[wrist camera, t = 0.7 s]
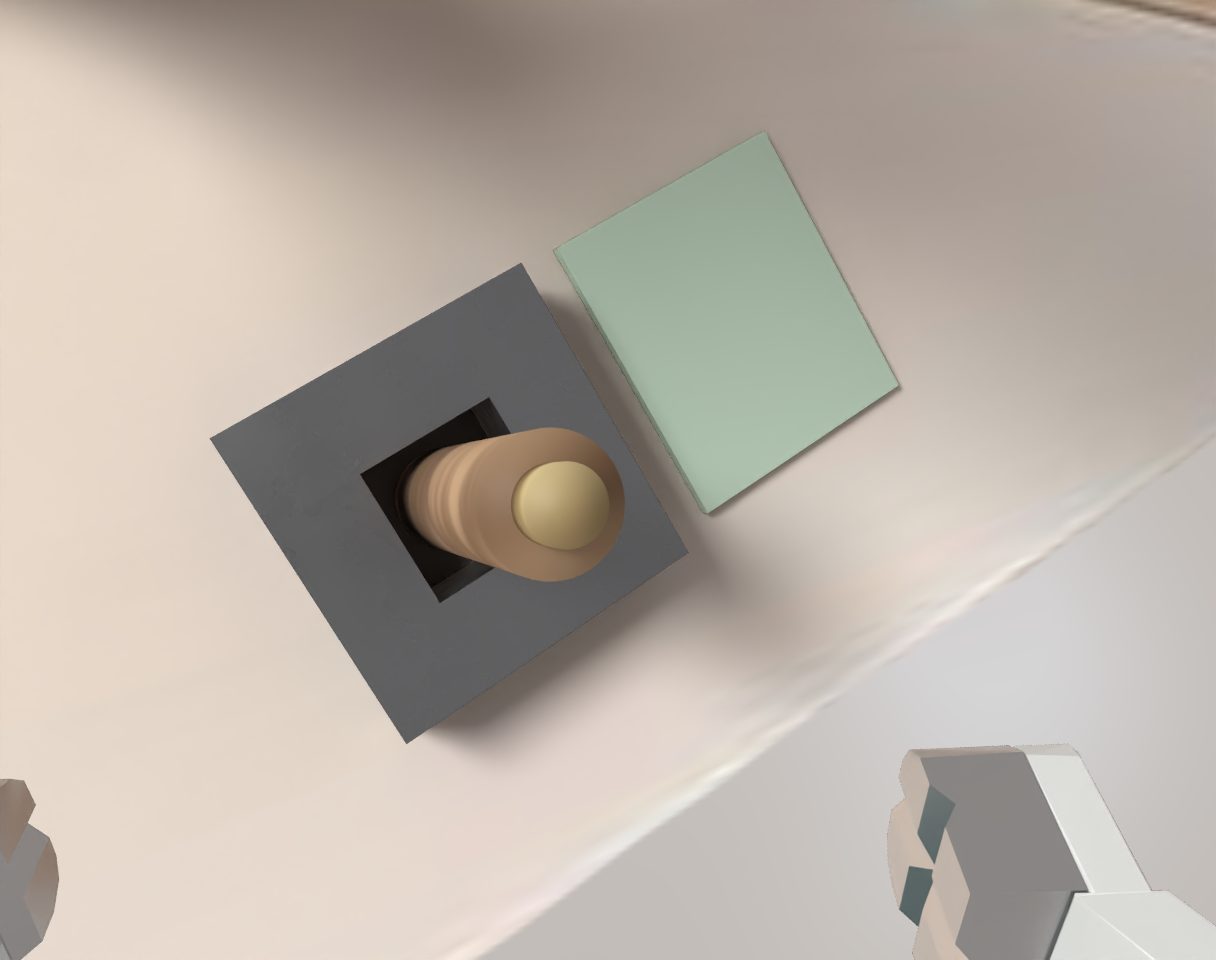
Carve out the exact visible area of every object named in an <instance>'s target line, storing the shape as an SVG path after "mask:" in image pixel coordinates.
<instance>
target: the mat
mask: <svg viewBox="0 0 1216 960" xmlns="http://www.w3.org/2000/svg"><path fill="white" fill-rule="evenodd" d="M553 251H554V253H555V254H556V256H557V258H558V260H559V261H560V263H561V265H562V267H563V268H564V270H565V272H566V274H567V275H568V277H569V279H570V281H571V282H572V284H573V286H574V288H575V289H576V291H577V293H578V295H579V296H580V298H581V300H582V302H583V303H584V305H585V307H586V309H587V310H588V312H589V314H590V316H591V317H592V319H593V321H594V323H595V324H596V326H597V328H598V330H599V332H600V333H601V335H602V337H603V339H604V340H605V342H606V344H607V346H608V347H609V349H610V351H611V353H612V354H613V356H614V358H615V360H616V361H617V363H618V365H619V367H620V368H621V370H622V372H623V374H624V375H625V377H626V379H627V381H628V382H629V384H630V386H631V388H632V389H633V391H634V393H635V395H636V396H637V398H638V400H639V402H640V403H641V405H642V407H643V409H644V410H645V412H646V414H647V416H648V417H649V419H650V421H651V423H652V424H653V426H654V428H655V430H656V431H657V433H658V435H659V437H660V438H661V440H662V442H663V444H664V445H665V447H666V449H667V451H668V452H669V454H670V456H671V458H672V459H673V461H674V463H675V465H676V466H677V468H678V470H679V472H680V473H681V475H682V477H683V479H684V480H685V482H686V484H687V486H688V487H689V489H690V491H691V493H692V494H693V496H694V498H695V500H696V502H697V503H698V505H699V507H700V509H701V510H702V512H703V513H709V512H711V511H712V510H714V509H715V508H717V507H718V506H720V505H721V504H723V503H724V502H726V501H727V500H729V499H730V498H732V497H733V496H735V495H736V494H738V493H739V492H741V491H742V490H744V489H745V488H747V487H748V486H750V485H751V484H752V483H754V482H755V481H757V480H758V479H760V478H761V477H763V476H764V475H766V474H767V473H769V472H770V471H772V470H773V469H775V468H776V467H778V466H779V465H781V464H782V463H784V462H785V461H787V460H788V459H790V458H791V457H793V456H794V455H796V454H797V453H799V452H800V451H802V450H803V449H805V448H806V447H808V446H809V445H811V444H812V443H814V442H815V441H817V440H818V439H820V438H821V437H822V436H824V435H825V434H827V433H828V432H830V431H831V430H833V429H834V428H836V427H837V426H839V425H840V424H842V423H843V422H845V421H846V420H848V419H849V418H851V417H852V416H854V415H855V414H857V413H858V412H860V411H861V410H863V409H864V408H866V407H867V406H869V405H870V404H872V403H873V402H875V401H876V400H878V399H879V398H881V397H882V396H884V395H885V394H887V393H888V392H889V391H891V390H892V389H894V388H895V387H897V386H898V383H897V381H896V379H895V377H894V375H893V373H892V371H891V369H890V367H889V366H888V364H887V362H886V360H885V358H884V356H883V354H882V352H881V350H880V348H879V347H878V345H877V343H876V341H875V339H874V337H873V335H872V333H871V331H870V330H869V328H868V326H867V324H866V322H865V320H864V318H863V316H862V314H861V312H860V311H859V309H858V307H857V305H856V303H855V301H854V299H853V297H852V295H851V293H850V292H849V290H848V288H847V286H846V284H845V282H844V280H843V278H842V276H841V275H840V273H839V271H838V269H837V267H836V265H835V263H834V261H833V259H832V257H831V256H830V254H829V252H828V250H827V248H826V246H825V244H824V242H823V240H822V239H821V237H820V235H819V233H818V231H817V229H816V227H815V225H814V223H813V221H812V220H811V218H810V216H809V214H808V212H807V210H806V208H805V206H804V204H803V202H802V201H801V199H800V197H799V195H798V193H797V191H796V189H795V187H794V185H793V184H792V182H791V180H790V178H789V176H788V174H787V172H786V170H785V168H784V166H783V165H782V163H781V161H780V159H779V157H778V155H777V153H776V151H775V149H774V148H773V146H772V144H771V142H770V140H769V138H768V136H767V134H766V132H765V130H764V131H762V132H761V133H759V134H757V135H755V136H754V137H752V138H750V139H748V140H746V141H745V142H743V143H741V144H739V145H738V146H736V147H734V148H732V149H731V150H729V151H727V152H725V153H723V154H722V155H720V156H718V157H716V158H715V159H713V160H711V161H709V162H708V163H706V164H704V165H702V166H701V167H699V168H697V169H695V170H693V171H692V172H690V173H688V174H686V175H685V176H683V177H681V178H679V179H678V180H676V181H674V182H672V183H670V184H669V185H667V186H665V187H663V188H662V189H660V190H658V191H656V192H655V193H653V194H651V195H649V196H648V197H646V198H644V199H642V200H640V201H639V202H637V203H635V204H633V205H632V206H630V207H628V208H626V209H625V210H623V211H621V212H619V213H617V214H616V215H614V216H612V217H610V218H609V219H607V220H605V221H603V222H602V223H600V224H598V225H596V226H595V227H593V228H591V229H589V230H587V231H586V232H584V233H582V234H580V235H579V236H577V237H575V238H573V239H572V240H570V241H568V242H566V243H564V244H563V245H561V246H559V247H557V248H556V249H555V250H553Z"/></svg>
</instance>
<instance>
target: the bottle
mask: <svg viewBox="0 0 1216 960" xmlns="http://www.w3.org/2000/svg"><path fill="white" fill-rule="evenodd" d="M395 502H396V509H397V513H398V516H399V518H400V520H401V522H402V524H403V526H404V527H405V529H406V530H407V531H408V532H409V533H410V534H411V535H412V536H413V537H414V538H415V539H417V540H418V541H420V542H422V543H424V544H426V545H429V546H432V547H435V548H438V549H441V550H444V551H447V552H450V553H453V554H456V555H459V556H462V557H465V558H468V559H471V560H474V561H477V562H480V563H483V564H486V565H489V566H492V567H495V568H498V569H501V570H505V571H508V572H511V573H514V574H517V575H520V576H523V577H526V578H529V579H533V580H538V581H544V582H555V581H563V580H567V579H571V578H574V577H577V576H579V575H582V574H583V573H585V572H587V571H589V570H590V569H592V568H593V567H594V566H596V565H597V564H598V563H599V562H600V561H601V560H602V559H603V558H604V557H605V556H606V555H607V554H608V553H609V551H610V550H611V549H612V547H613V545H614V544H615V542H616V540H617V538H618V536H619V533H620V531H621V527H622V524H623V519H624V513H625V496H624V489H623V484H622V481H621V478H620V475H619V473H618V471H617V469H616V467H615V465H614V463H613V462H612V460H611V459H610V457H609V456H608V455H607V454H606V452H605V451H604V450H603V449H602V448H601V447H600V446H599V445H597V444H596V443H595V442H594V441H592V440H591V439H589V438H588V437H586V436H584V435H582V434H580V433H577V432H574V431H571V430H568V429H562V428H551V427H549V428H539V429H534V430H529V431H524V432H519V433H514V434H509V435H504V436H499V437H494V438H489V439H484V440H479V441H474V442H469V443H464V444H459V445H454V446H449V447H444V448H439V449H434V450H430V451H428V452H425V453H423V454H421V455H419V456H418V457H416V458H415V459H414V460H413V461H412V462H410V463H409V464H408V466H407V467H406V468H405V469H404V471H403V473H402V474H401V476H400V478H399V481H398V484H397V488H396V495H395Z"/></svg>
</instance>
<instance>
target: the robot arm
mask: <svg viewBox="0 0 1216 960" xmlns="http://www.w3.org/2000/svg"><path fill="white" fill-rule="evenodd" d="M899 780H900V783H901V786H902V789H903V792H904V795H905V799H903V800H902V801H901V802H900V803H899V804H898V805H896V806H895V807H894V808H893V809H892V810H891V816H890V821H889V827H888V833H887V840H888V864H889V870H890V875H891V881H892V886H893V890H894V893H895V897H896V900H897V903H898V907H899V910H900V911H901V912H903V913H904V914H905V915H906V916H907V917H908V918H909V919H910V920H911V921H912V922H914V923H915V924H916V925H917V926H918V931H917V935H916V939H915V943H914V948H913V952H912V954H913V957H914V960H1216V925H1214V924H1213V923H1211V922H1210V921H1209V920H1207V919H1206V918H1205V917H1203V916H1202V915H1201V914H1199V913H1198V912H1197V911H1195V910H1194V909H1193V908H1191V907H1190V906H1189V905H1187V904H1186V903H1185V902H1183V901H1182V900H1180V899H1179V898H1178V897H1177V896H1175V895H1174V894H1172V893H1171V892H1170V891H1168V890H1152V889H1151V888H1150V886H1149V884H1148V882H1147V880H1146V879H1145V876H1144V875H1143V873H1142V871H1141V869H1140V867H1139V865H1138V863H1137V862H1136V860H1135V858H1134V856H1133V854H1132V852H1131V850H1130V848H1129V846H1128V845H1127V843H1126V841H1125V839H1124V837H1123V835H1122V834H1121V831H1120V830H1119V828H1118V826H1117V824H1116V822H1115V820H1114V818H1113V817H1112V815H1111V813H1110V811H1109V809H1108V807H1107V805H1106V804H1105V802H1104V800H1103V798H1102V796H1101V794H1100V792H1099V790H1098V788H1097V787H1096V785H1095V783H1094V781H1093V779H1092V777H1091V775H1090V774H1089V772H1088V770H1087V768H1086V766H1085V764H1084V762H1083V760H1082V759H1081V757H1080V755H1079V753H1078V752H1077V751H1076V750H1075V749H1074V748H1072V747H1071V746H1070V745H1069V744H1053V745H1052V744H1051V745H1025V746H1024V745H1023V746H1014V747H1011V746H1009V745H1006V746H984V747H963V748H962V747H960V748H937V749H913V750H909V751H908V753H907V754H906V755H905V757H904V758H903V761H902V765H901V769H900V774H899ZM35 806H36V804H35V802H34V800H33V798H32V796H31V794H30V792H29V790H28V788H27V786H26V784H25V782H24V781H23V780H14V779H0V960H21V959H22V958H23V957H24V956H26V955H27V954H28V953H29V952H30V951H31V950H33V949H34V948H35V947H36V946H37V945H38V944H40V943H41V942H42V941H43V938H44V936H45V933H46V930H47V928H48V925H49V923H50V920H51V918H52V915H53V913H54V908H55V901H56V895H57V888H58V882H59V875H58V866H57V857H56V853H55V851H54V848H53V846H52V843H51V841H50V838H49V837H48V836H46V835H45V834H43V833H42V832H40V831H39V830H37V829H36V828H34V827H33V826H31V825H30V824H28V820H29V818H30V816H31V814H32V812H33V810H34V808H35Z"/></svg>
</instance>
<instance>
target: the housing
mask: <svg viewBox="0 0 1216 960" xmlns="http://www.w3.org/2000/svg"><path fill="white" fill-rule="evenodd" d="M470 408H471V410H472V412H473V413H474V415H475V417H476V418H477V420H478V422H479V423H480V425H481V427H482V428H483V430H484V432H485V433H486V435H487V437H488V438H494V437H499V436H504V435H509V434H514V433H519V432H524V431H529V430H534V429H539V428H549V427H551V428H562V429H568V430H571V431H574V432H577V433H580V434H582V435H584V436H586V437H588V438H589V439H591V440H592V441H594V442H595V443H596V444H597V445H599V446H600V447H601V448H602V449H603V450H604V451H605V452H606V454H607V455H608V456H609V457H610V459H611V460H612V462H613V463H614V465H615V467H616V469H617V471H618V473H619V475H620V478H621V481H622V484H623V489H624V496H625V513H624V519H623V524H622V527H621V531H620V533H619V536H618V538H617V540H616V542H615V544H614V545H613V547H612V549H611V550H610V551H609V553H608V554H607V555H606V556H605V557H604V558H603V559H602V560H601V561H600V562H599V563H598V564H597V565H596V566H594V567H593V568H592V569H590V570H589V571H587V572H585V573H583V574H582V575H579V576H577V577H574V578H571V579H567V580H563V581H555V582H544V581H538V580H533V579H529V578H526V577H523V576H520V575H517V574H514V573H511V572H508V571H505V570H501V569H498V568H495V567H492V566H489V565H486V564H483V563H480V562H477V561H472V562H471V563H469V564H468V565H466V566H465V567H463V568H461V569H460V570H458V571H457V572H455V573H454V574H452V575H450V576H449V577H447V578H446V579H444V580H443V581H441V582H440V583H438V584H436V585H435V586H433V587H432V588H430V586H429V585H428V583H427V581H426V580H425V578H424V577H423V575H422V573H421V572H420V570H419V569H418V567H417V565H416V564H415V562H414V561H413V559H412V557H411V556H410V554H409V552H408V551H407V549H406V548H405V546H404V544H403V543H402V541H401V540H400V538H399V536H398V535H397V533H396V532H395V530H394V528H393V527H392V525H391V524H390V522H389V520H388V519H387V517H386V516H385V514H384V512H383V511H382V509H381V508H380V506H379V504H378V503H377V501H376V500H375V498H374V496H373V495H372V493H371V491H370V490H369V488H368V487H367V485H366V483H365V482H364V480H363V479H362V477H361V475H360V474H361V473H363V472H364V471H366V470H368V469H369V468H371V467H373V466H374V465H376V464H378V463H379V462H381V461H383V460H384V459H386V458H388V457H390V456H391V455H393V454H395V453H396V452H398V451H400V450H401V449H403V448H405V447H406V446H408V445H410V444H411V443H413V442H415V441H416V440H418V439H420V438H421V437H423V436H425V435H426V434H428V433H430V432H431V431H433V430H435V429H436V428H438V427H440V426H441V425H443V424H445V423H446V422H448V421H450V420H451V419H453V418H455V417H456V416H458V415H460V414H462V413H463V412H465V411H467V410H468V409H470ZM210 440H211V441H212V443H213V444H214V446H215V447H216V449H217V450H218V452H219V454H220V455H221V457H222V458H223V460H224V461H225V463H226V464H227V466H228V468H229V469H230V471H231V472H232V474H233V475H234V477H235V478H236V480H237V482H238V483H239V485H240V486H241V488H242V489H243V491H244V492H245V494H246V496H247V497H248V499H249V500H250V502H251V503H252V505H253V506H254V508H255V510H256V511H257V513H258V514H259V516H260V517H261V519H262V520H263V522H264V524H265V525H266V527H267V528H268V530H269V531H270V533H271V534H272V536H273V537H274V539H275V541H276V542H277V544H278V545H279V547H280V548H281V550H282V551H283V553H284V555H285V556H286V558H287V559H288V561H289V562H290V564H291V565H292V567H293V569H294V570H295V572H296V573H297V575H298V576H299V578H300V579H301V581H302V583H303V584H304V586H305V587H306V589H307V590H308V592H309V593H310V595H311V597H312V598H313V600H314V601H315V603H316V604H317V606H318V607H319V609H320V611H321V612H322V614H323V615H324V617H325V618H326V620H327V621H328V623H329V625H330V626H331V628H332V629H333V631H334V632H335V634H336V635H337V637H338V638H339V640H340V642H341V643H342V645H343V646H344V648H345V649H346V651H347V652H348V654H349V656H350V657H351V659H352V660H353V662H354V663H355V665H356V666H357V668H358V670H359V671H360V673H361V674H362V676H363V677H364V679H365V680H366V682H367V684H368V685H369V687H370V688H371V690H372V691H373V693H374V694H375V696H376V698H377V699H378V701H379V702H380V704H381V705H382V707H383V708H384V710H385V712H386V713H387V715H388V716H389V718H390V719H391V721H392V722H393V724H394V725H395V727H396V729H397V730H398V732H399V733H400V735H401V736H402V738H403V739H404V741H405V743H406V744H408V743H409V742H410V741H412V740H413V739H415V738H416V737H418V736H419V735H421V734H422V733H424V732H425V731H427V730H428V729H430V728H431V727H433V726H434V725H435V724H437V723H438V722H440V721H441V720H443V719H444V718H446V717H447V716H449V715H450V714H452V713H453V712H455V711H456V710H458V709H459V708H460V707H462V706H463V705H465V704H466V703H468V702H469V701H471V700H472V699H474V698H475V697H477V696H478V695H480V694H481V693H483V692H484V691H486V690H487V689H488V688H490V687H491V686H493V685H494V684H496V683H497V682H499V681H500V680H502V679H503V678H505V677H506V676H508V675H509V674H511V673H512V672H513V671H515V670H516V669H518V668H519V667H521V666H522V665H524V664H525V663H527V662H528V661H530V660H531V659H533V658H534V657H536V656H537V655H539V654H540V653H541V652H543V651H544V650H546V649H547V648H549V647H550V646H552V645H553V644H555V643H556V642H558V641H559V640H561V639H562V638H564V637H565V636H566V635H568V634H569V633H571V632H572V631H574V630H575V629H577V628H578V627H580V626H581V625H583V624H584V623H586V622H587V621H589V620H590V619H592V618H593V617H594V616H596V615H597V614H599V613H600V612H602V611H603V610H605V609H606V608H608V607H609V606H611V605H612V604H614V603H615V602H617V601H618V600H619V599H621V598H622V597H624V596H625V595H627V594H628V593H630V592H631V591H633V590H634V589H636V588H637V587H639V586H640V585H642V584H643V583H645V582H646V581H647V580H649V579H650V578H652V577H653V576H655V575H656V574H658V573H659V572H661V571H662V570H664V569H665V568H667V567H668V566H670V565H671V564H672V563H674V562H675V561H677V560H678V559H680V558H681V557H683V556H684V555H686V554H687V553H688V551H687V549H686V548H685V546H684V544H683V542H682V541H681V539H680V537H679V535H678V534H677V532H676V530H675V528H674V527H673V525H672V523H671V521H670V520H669V518H668V516H667V515H666V513H665V511H664V509H663V508H662V506H661V504H660V502H659V501H658V499H657V497H656V495H655V494H654V492H653V490H652V489H651V487H650V485H649V483H648V482H647V480H646V478H645V476H644V475H643V473H642V471H641V469H640V468H639V466H638V464H637V463H636V461H635V459H634V457H633V456H632V454H631V452H630V450H629V449H628V447H627V445H626V443H625V442H624V440H623V438H622V437H621V435H620V433H619V431H618V430H617V428H616V426H615V424H614V423H613V421H612V419H611V417H610V416H609V414H608V412H607V411H606V409H605V407H604V405H603V404H602V402H601V400H600V398H599V397H598V395H597V393H596V391H595V390H594V388H593V386H592V385H591V383H590V381H589V379H588V378H587V376H586V374H585V372H584V371H583V369H582V367H581V365H580V364H579V362H578V360H577V359H576V357H575V355H574V353H573V352H572V350H571V348H570V346H569V345H568V343H567V341H566V339H565V338H564V336H563V334H562V333H561V331H560V329H559V327H558V326H557V324H556V322H555V320H554V319H553V317H552V315H551V313H550V312H549V310H548V308H547V306H546V305H545V303H544V301H543V300H542V298H541V296H540V294H539V293H538V291H537V289H536V287H535V286H534V284H533V282H532V280H531V279H530V277H529V275H528V274H527V272H526V270H525V268H524V267H523V265H522V263H520V264H518V265H516V266H515V267H513V268H511V269H509V270H507V271H506V272H504V273H502V274H500V275H499V276H497V277H495V278H493V279H491V280H490V281H488V282H486V283H484V284H483V285H481V286H479V287H477V288H476V289H474V290H472V291H470V292H468V293H467V294H465V295H463V296H461V297H460V298H458V299H456V300H454V301H453V302H451V303H449V304H447V305H445V306H444V307H442V308H440V309H438V310H437V311H435V312H433V313H431V314H429V315H428V316H426V317H424V318H422V319H421V320H419V321H417V322H415V323H414V324H412V325H410V326H408V327H406V328H405V329H403V330H401V331H399V332H398V333H396V334H394V335H392V336H390V337H389V338H387V339H385V340H383V341H382V342H380V343H378V344H376V345H375V346H373V347H371V348H369V349H367V350H366V351H364V352H362V353H360V354H359V355H357V356H355V357H353V358H352V359H350V360H348V361H346V362H344V363H343V364H341V365H339V366H337V367H336V368H334V369H332V370H330V371H328V372H327V373H325V374H323V375H321V376H320V377H318V378H316V379H314V380H313V381H311V382H309V383H307V384H305V385H304V386H302V387H300V388H298V389H297V390H295V391H293V392H291V393H290V394H288V395H286V396H284V397H282V398H281V399H279V400H277V401H275V402H274V403H272V404H270V405H268V406H266V407H265V408H263V409H261V410H259V411H258V412H256V413H254V414H252V415H251V416H249V417H247V418H245V419H243V420H242V421H240V422H238V423H236V424H235V425H233V426H231V427H229V428H228V429H226V430H224V431H222V432H220V433H219V434H217V435H215V436H213V437H212V438H210Z"/></svg>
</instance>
